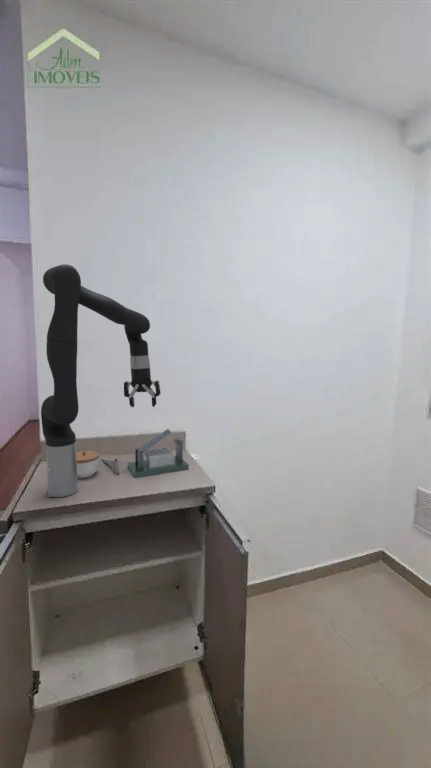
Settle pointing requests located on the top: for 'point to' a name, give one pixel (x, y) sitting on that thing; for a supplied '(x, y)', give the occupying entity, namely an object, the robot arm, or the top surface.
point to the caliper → (112, 464)
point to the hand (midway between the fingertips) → (143, 406)
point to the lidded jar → (86, 463)
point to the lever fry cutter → (158, 461)
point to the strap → (154, 440)
